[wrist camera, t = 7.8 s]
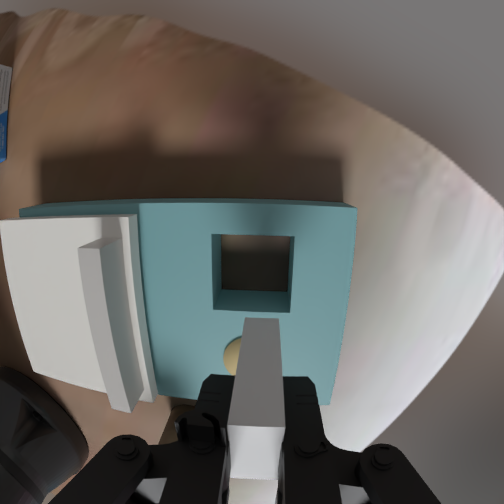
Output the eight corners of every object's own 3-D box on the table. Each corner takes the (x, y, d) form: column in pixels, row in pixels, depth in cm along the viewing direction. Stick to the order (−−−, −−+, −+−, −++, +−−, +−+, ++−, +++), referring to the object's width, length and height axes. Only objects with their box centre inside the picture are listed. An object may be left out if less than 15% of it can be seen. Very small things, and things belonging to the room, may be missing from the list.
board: (70, 351, 21) (50, 370, 18) (46, 203, 18) (17, 209, 15) (323, 377, 20) (329, 406, 17) (343, 202, 17) (358, 208, 14)
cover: (40, 364, 18) (17, 387, 14) (9, 218, 15) (-25, 227, 12) (157, 392, 17) (141, 426, 14) (137, 214, 14) (105, 224, 11)
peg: (173, 426, 22) (139, 520, 12) (168, 402, 21) (127, 501, 12) (208, 431, 22) (184, 531, 12) (206, 407, 21) (176, 513, 12)
